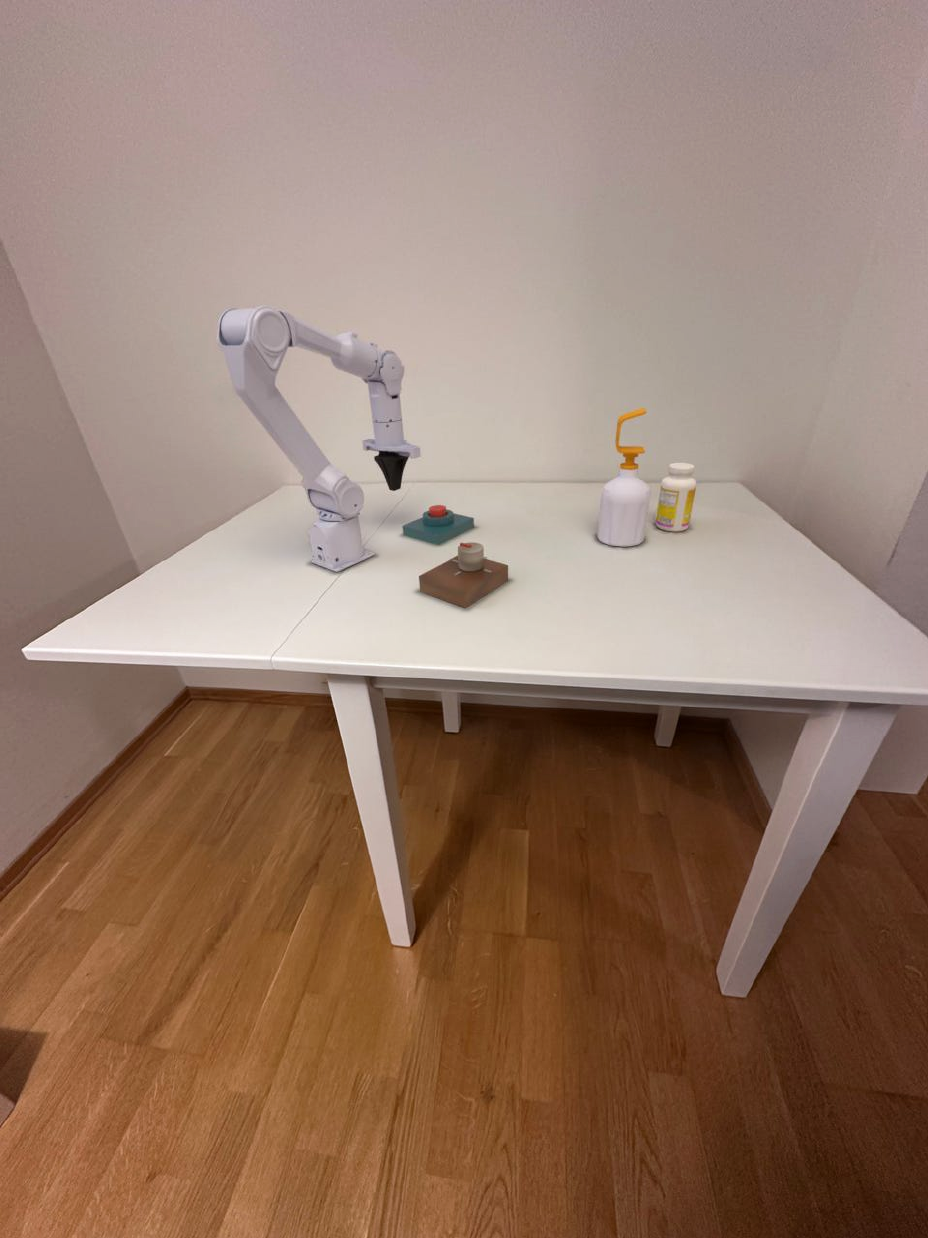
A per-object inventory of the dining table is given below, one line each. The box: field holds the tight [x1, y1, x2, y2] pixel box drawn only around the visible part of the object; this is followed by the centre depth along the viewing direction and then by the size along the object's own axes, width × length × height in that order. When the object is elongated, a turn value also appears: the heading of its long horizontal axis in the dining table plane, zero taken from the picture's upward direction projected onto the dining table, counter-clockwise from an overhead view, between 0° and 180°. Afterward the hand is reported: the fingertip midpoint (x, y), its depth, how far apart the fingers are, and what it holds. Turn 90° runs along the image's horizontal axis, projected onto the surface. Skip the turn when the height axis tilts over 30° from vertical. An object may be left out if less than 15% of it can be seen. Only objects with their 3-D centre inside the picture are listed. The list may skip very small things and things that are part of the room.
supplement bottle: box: [655, 462, 698, 532], centre depth 104 cm, size 7×7×13 cm
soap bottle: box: [596, 407, 652, 548], centre depth 97 cm, size 9×9×25 cm
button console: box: [402, 508, 475, 546], centre depth 110 cm, size 12×10×4 cm
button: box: [428, 504, 447, 517], centre depth 109 cm, size 4×4×2 cm
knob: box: [457, 542, 485, 571], centre depth 87 cm, size 4×4×4 cm
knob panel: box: [418, 555, 509, 609], centre depth 88 cm, size 12×10×3 cm
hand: (395, 489), depth 106 cm, fingers closed
